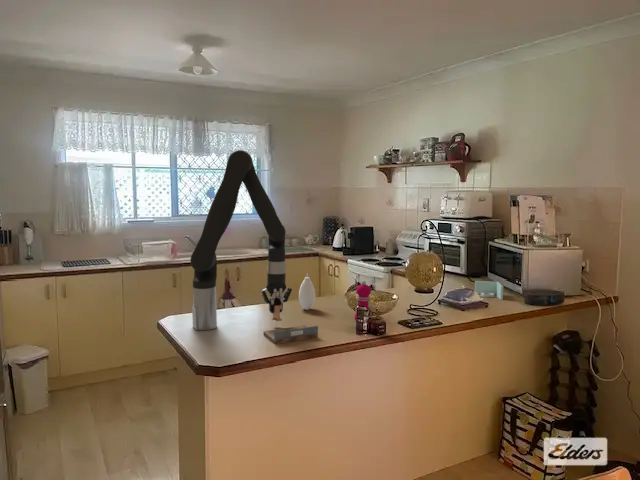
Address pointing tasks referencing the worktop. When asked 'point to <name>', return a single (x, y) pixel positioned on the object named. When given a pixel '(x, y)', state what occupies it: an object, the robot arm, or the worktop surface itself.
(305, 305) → the sauce bottle
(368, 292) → the pepper mill
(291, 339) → the shelf board
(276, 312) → the grandmother figurine
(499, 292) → the l-shaped corner panel
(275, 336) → the price rail
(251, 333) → the worktop surface
